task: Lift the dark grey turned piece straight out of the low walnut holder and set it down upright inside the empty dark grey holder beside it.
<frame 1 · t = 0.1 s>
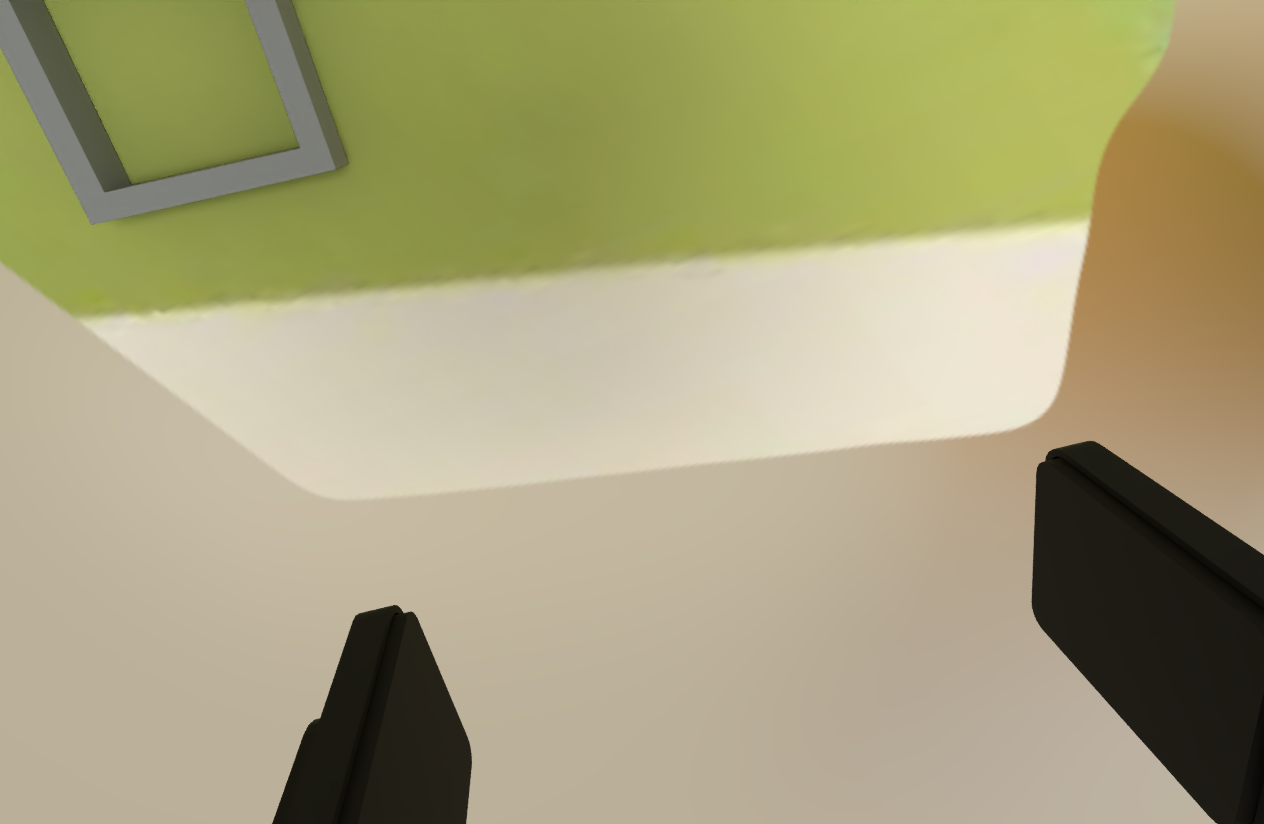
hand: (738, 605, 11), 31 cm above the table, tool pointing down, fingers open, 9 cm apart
grey holder: (180, 62, 34), on the table
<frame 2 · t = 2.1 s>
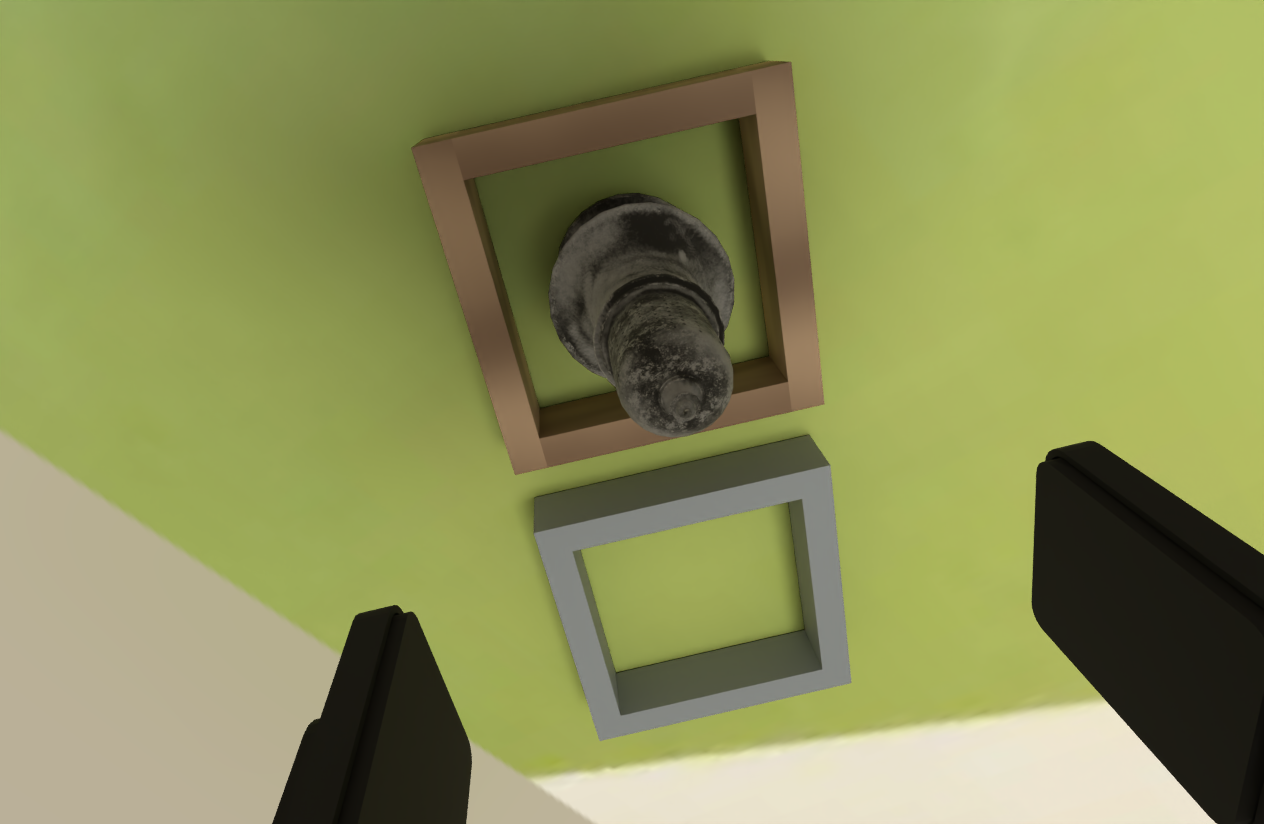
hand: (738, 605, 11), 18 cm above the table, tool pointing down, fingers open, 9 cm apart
walnut holder: (631, 269, 27), on the table
dark grey turned piece: (630, 267, 27), resting in walnut holder
grey holder: (694, 575, 33), on the table
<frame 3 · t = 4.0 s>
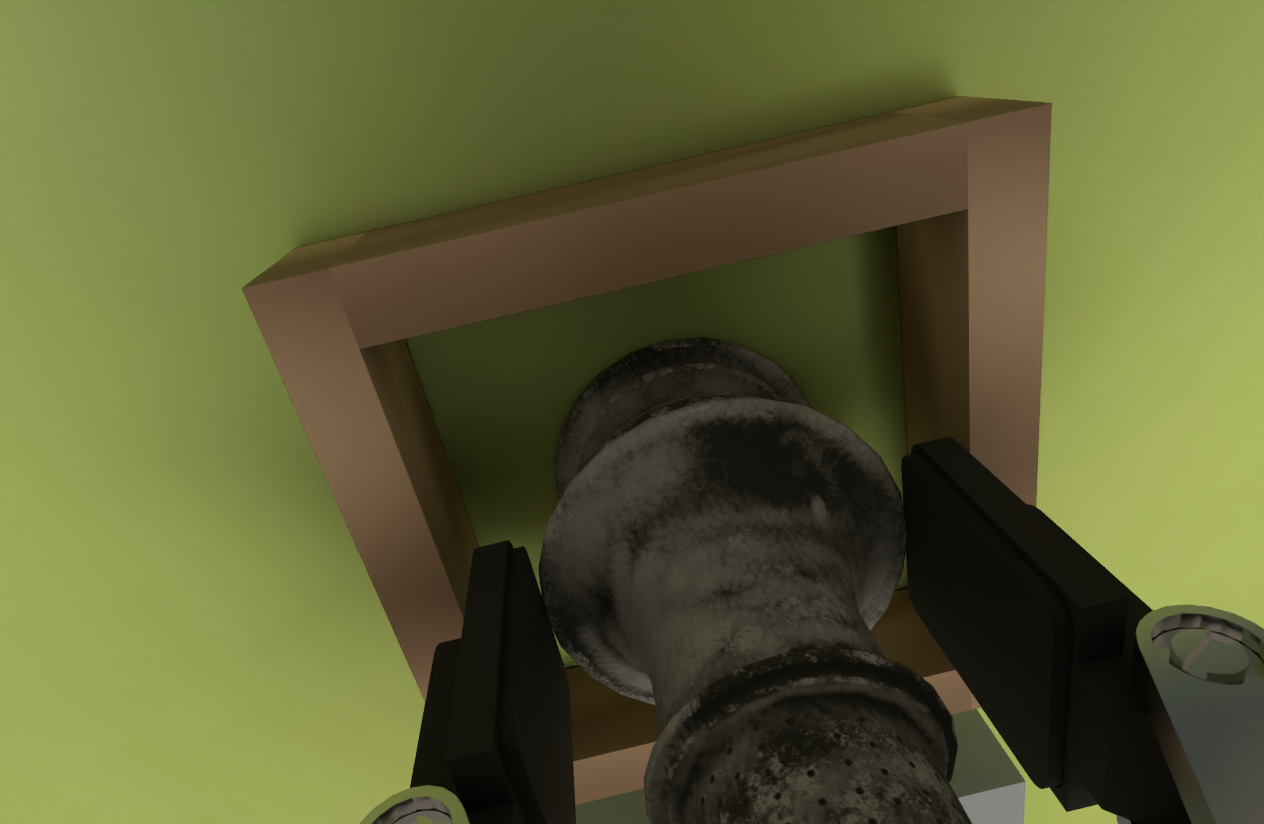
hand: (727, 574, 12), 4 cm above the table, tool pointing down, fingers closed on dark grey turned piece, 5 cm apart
walnut holder: (687, 462, 15), on the table
dark grey turned piece: (685, 458, 15), resting in walnut holder, touching gripper
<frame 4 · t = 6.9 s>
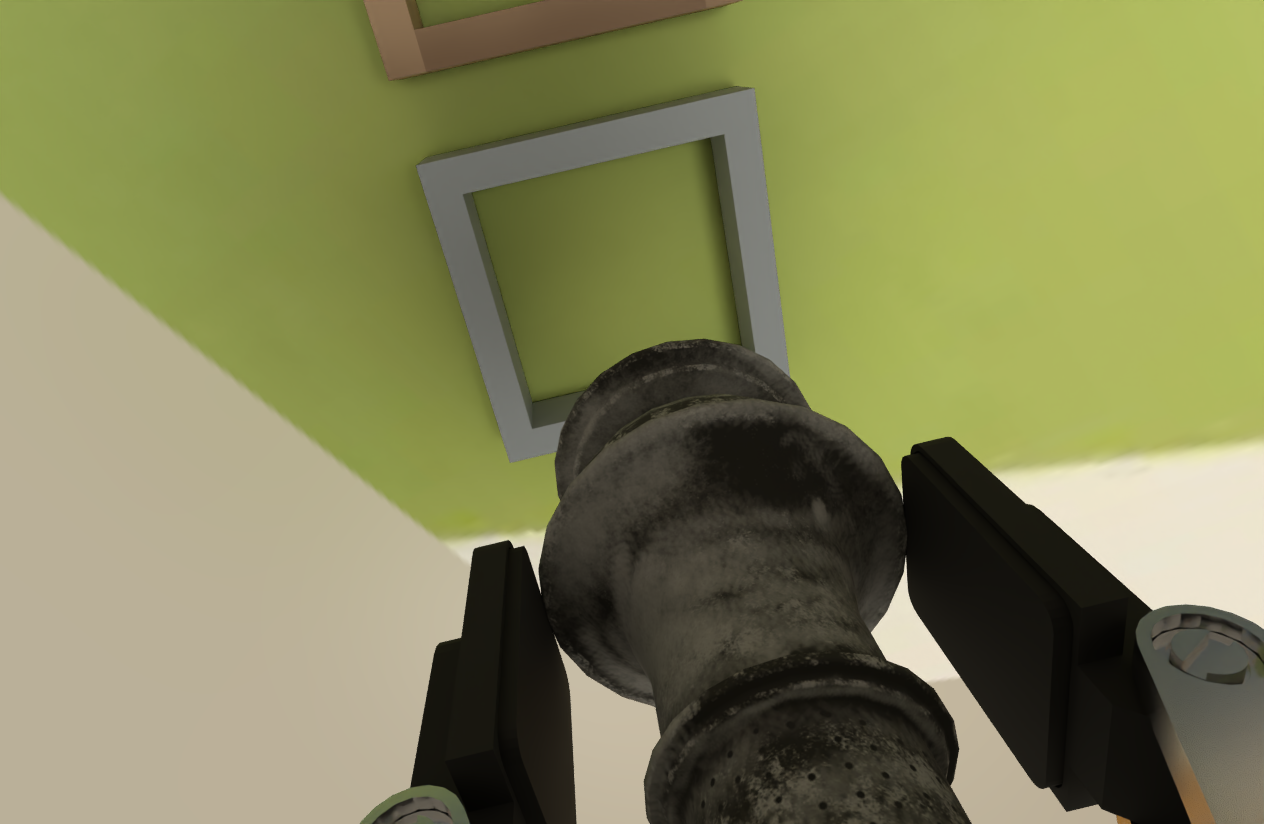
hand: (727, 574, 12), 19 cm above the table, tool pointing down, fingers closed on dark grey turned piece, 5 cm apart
dark grey turned piece: (686, 459, 15), point 16 cm above the table, touching gripper
grey holder: (615, 274, 29), on the table
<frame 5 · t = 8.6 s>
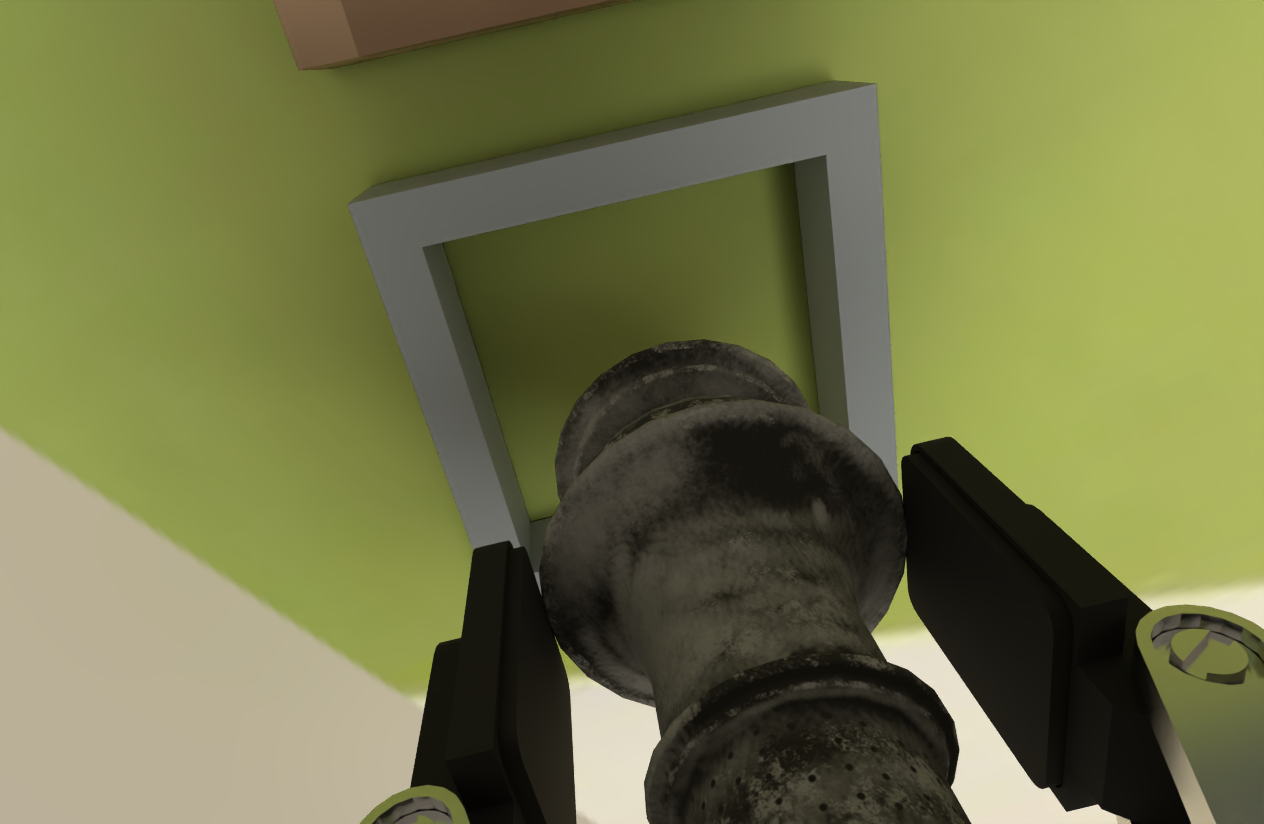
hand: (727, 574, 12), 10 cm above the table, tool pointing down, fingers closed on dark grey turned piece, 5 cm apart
dark grey turned piece: (686, 460, 15), point 6 cm above the table, touching gripper
grey holder: (648, 350, 21), on the table
when the fingers open (5 cm above the table, at t = 9.9 s): dark grey turned piece drops 2 cm, resting in grey holder.
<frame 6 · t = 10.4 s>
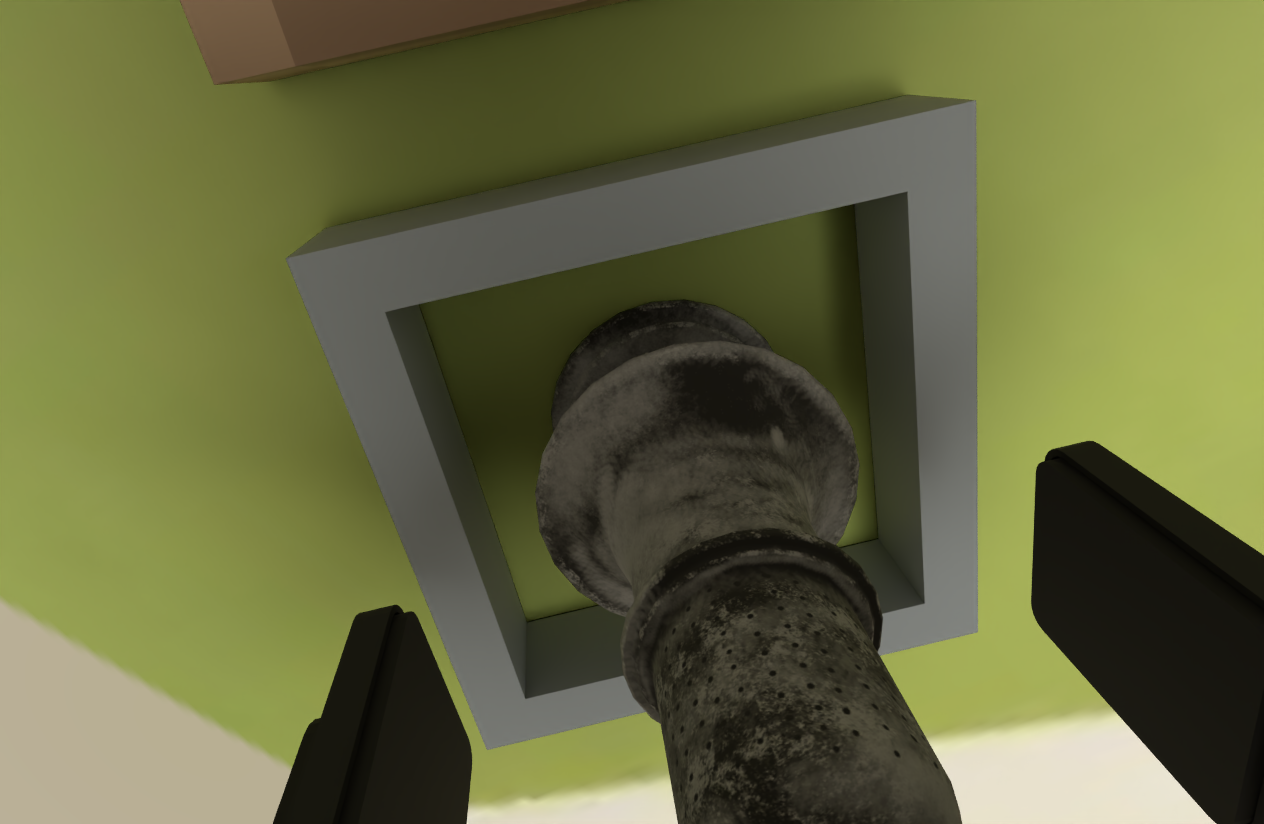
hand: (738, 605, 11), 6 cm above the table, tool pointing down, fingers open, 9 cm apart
dark grey turned piece: (669, 411, 17), resting in grey holder
grey holder: (671, 422, 17), on the table
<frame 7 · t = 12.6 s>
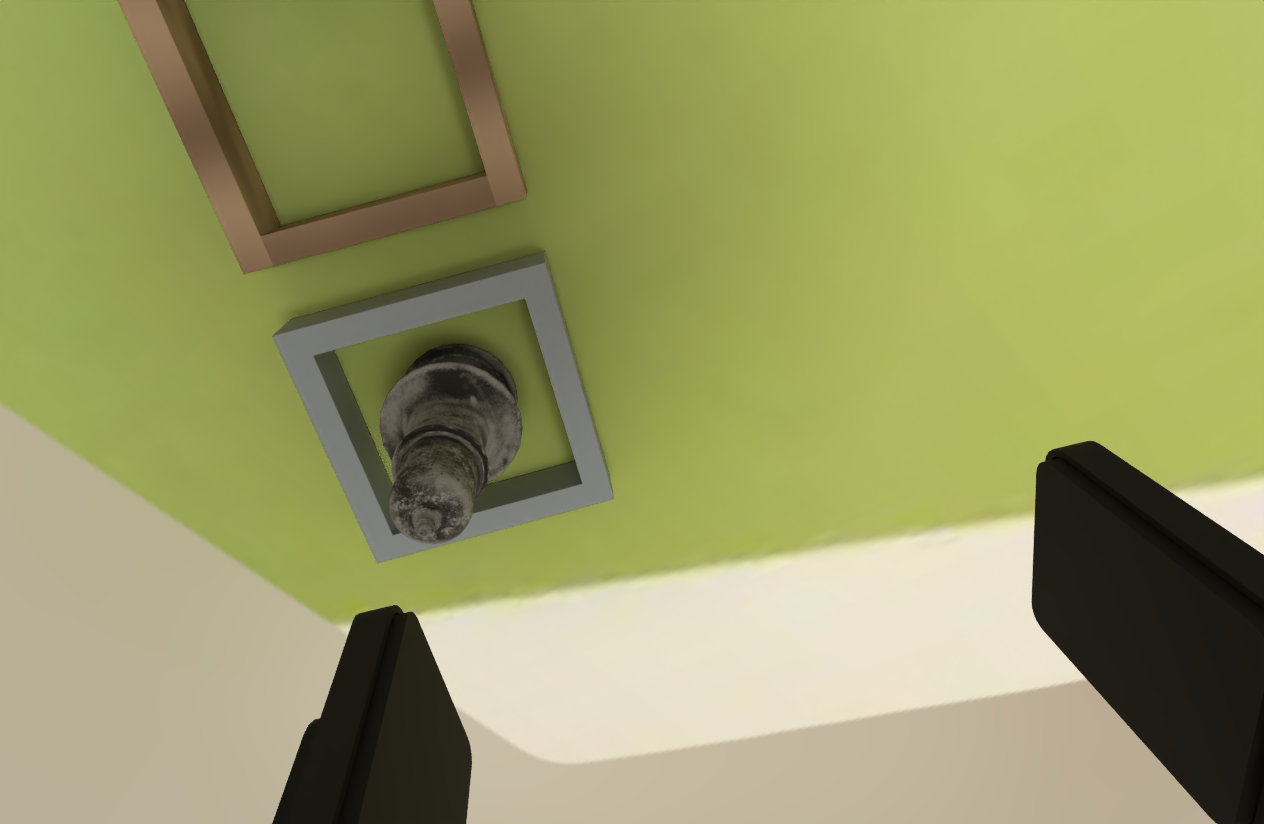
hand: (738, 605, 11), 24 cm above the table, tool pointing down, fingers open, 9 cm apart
walnut holder: (343, 82, 29), on the table
dark grey turned piece: (460, 396, 35), resting in grey holder
grey holder: (460, 402, 35), on the table
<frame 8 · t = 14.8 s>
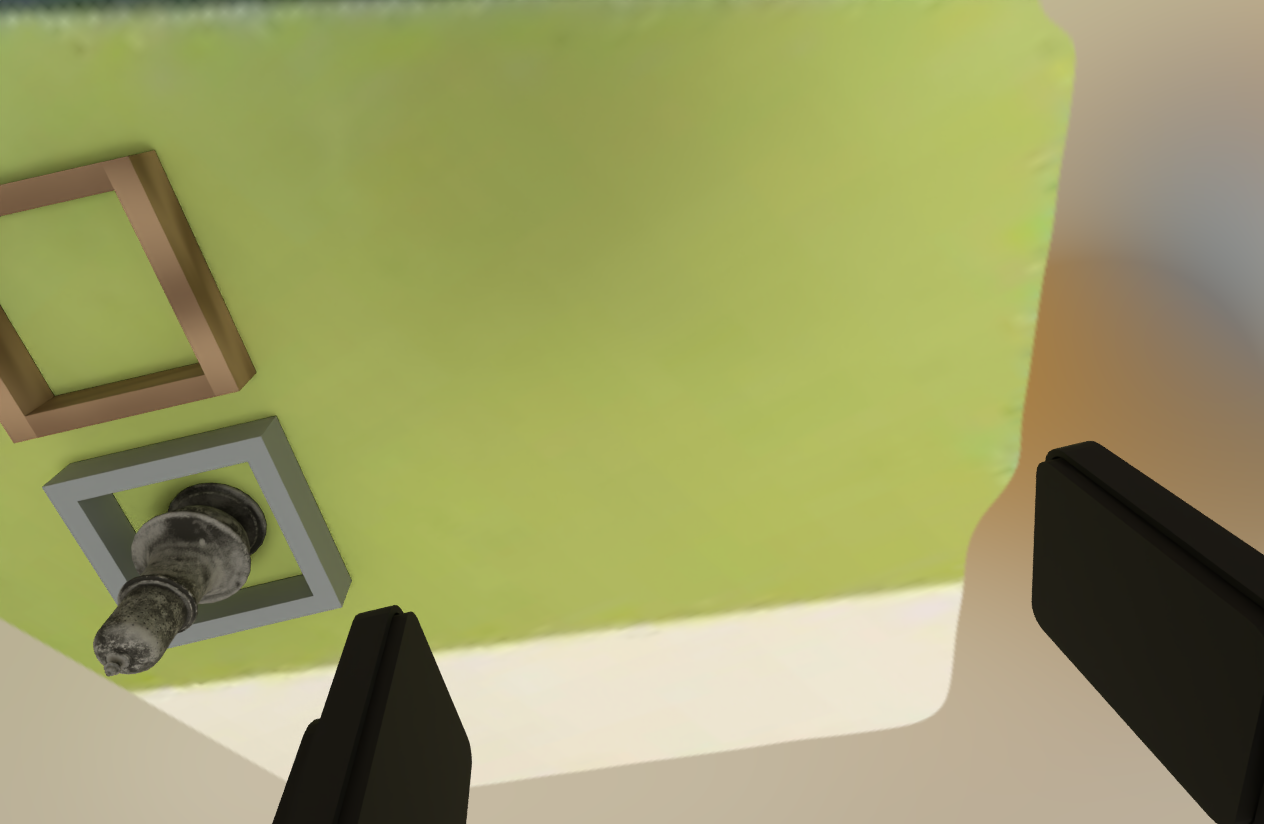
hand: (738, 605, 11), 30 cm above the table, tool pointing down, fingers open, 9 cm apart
walnut holder: (95, 294, 37), on the table
dark grey turned piece: (219, 521, 43), resting in grey holder
grey holder: (218, 525, 43), on the table
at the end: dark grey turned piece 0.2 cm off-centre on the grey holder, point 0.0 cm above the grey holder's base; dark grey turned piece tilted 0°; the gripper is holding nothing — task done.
